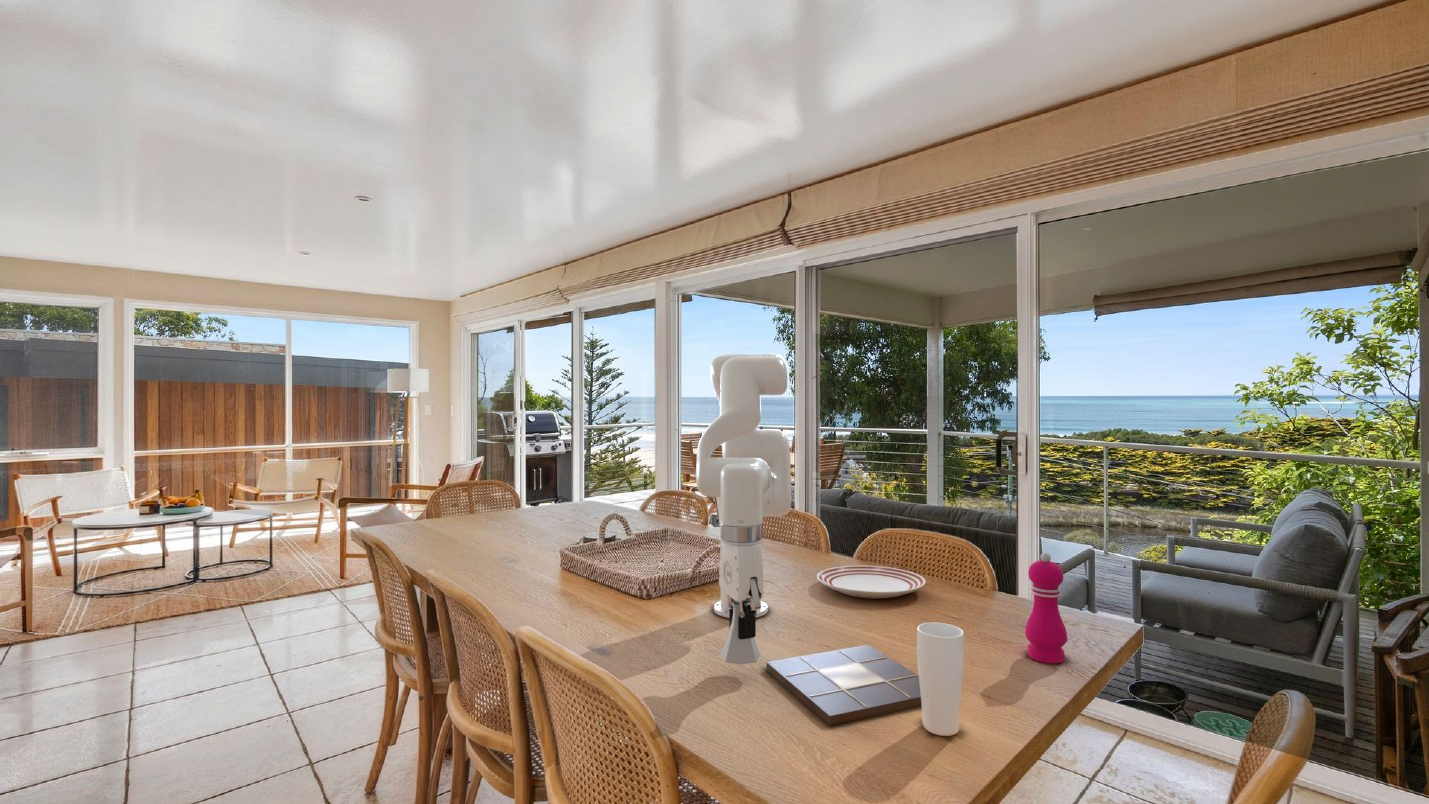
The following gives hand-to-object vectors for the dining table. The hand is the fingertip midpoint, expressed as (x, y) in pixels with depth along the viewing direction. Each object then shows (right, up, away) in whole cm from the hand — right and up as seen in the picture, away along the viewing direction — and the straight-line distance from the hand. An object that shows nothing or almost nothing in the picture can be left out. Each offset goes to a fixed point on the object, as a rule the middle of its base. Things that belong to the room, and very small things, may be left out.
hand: (742, 632), depth 118 cm
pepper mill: (+58, -7, +7) cm, 59 cm away
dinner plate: (+35, -7, +52) cm, 63 cm away
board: (+19, -8, -4) cm, 21 cm away
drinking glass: (+29, -8, -19) cm, 36 cm away
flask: (0, -5, 0) cm, 5 cm away
